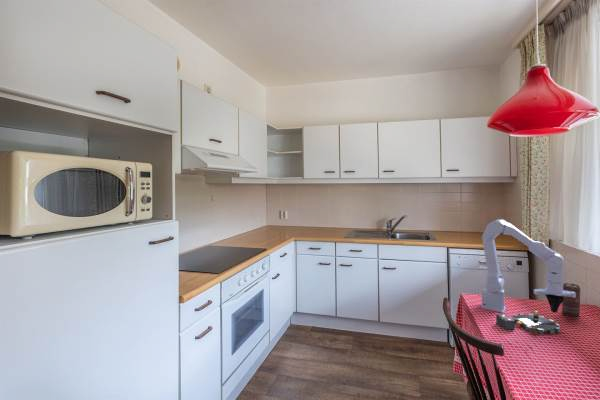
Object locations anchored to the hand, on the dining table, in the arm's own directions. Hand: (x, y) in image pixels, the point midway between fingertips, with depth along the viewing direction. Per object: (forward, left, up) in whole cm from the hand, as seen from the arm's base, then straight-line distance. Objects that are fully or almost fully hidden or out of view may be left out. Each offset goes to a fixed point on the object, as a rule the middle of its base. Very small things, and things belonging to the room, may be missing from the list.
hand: (553, 311), depth 134 cm
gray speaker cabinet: (-16, -17, -5) cm, 24 cm away
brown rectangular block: (-6, -17, -5) cm, 19 cm away
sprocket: (-6, -8, -5) cm, 11 cm away
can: (+6, +15, -5) cm, 17 cm away
